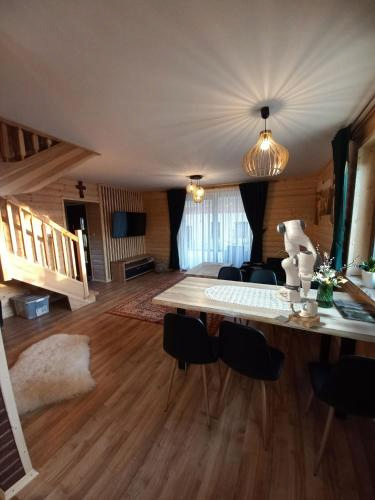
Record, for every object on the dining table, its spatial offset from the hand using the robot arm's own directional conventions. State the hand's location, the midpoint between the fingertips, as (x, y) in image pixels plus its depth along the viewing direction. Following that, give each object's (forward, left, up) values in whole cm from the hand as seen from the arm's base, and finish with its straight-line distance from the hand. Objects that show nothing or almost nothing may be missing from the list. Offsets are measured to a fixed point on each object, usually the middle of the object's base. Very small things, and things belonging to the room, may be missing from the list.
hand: (305, 294), depth 138 cm
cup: (-5, +17, -20) cm, 26 cm away
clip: (-7, -1, -14) cm, 16 cm away
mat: (-10, -9, -20) cm, 24 cm away
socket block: (0, 0, -20) cm, 20 cm away
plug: (0, 0, -20) cm, 20 cm away
